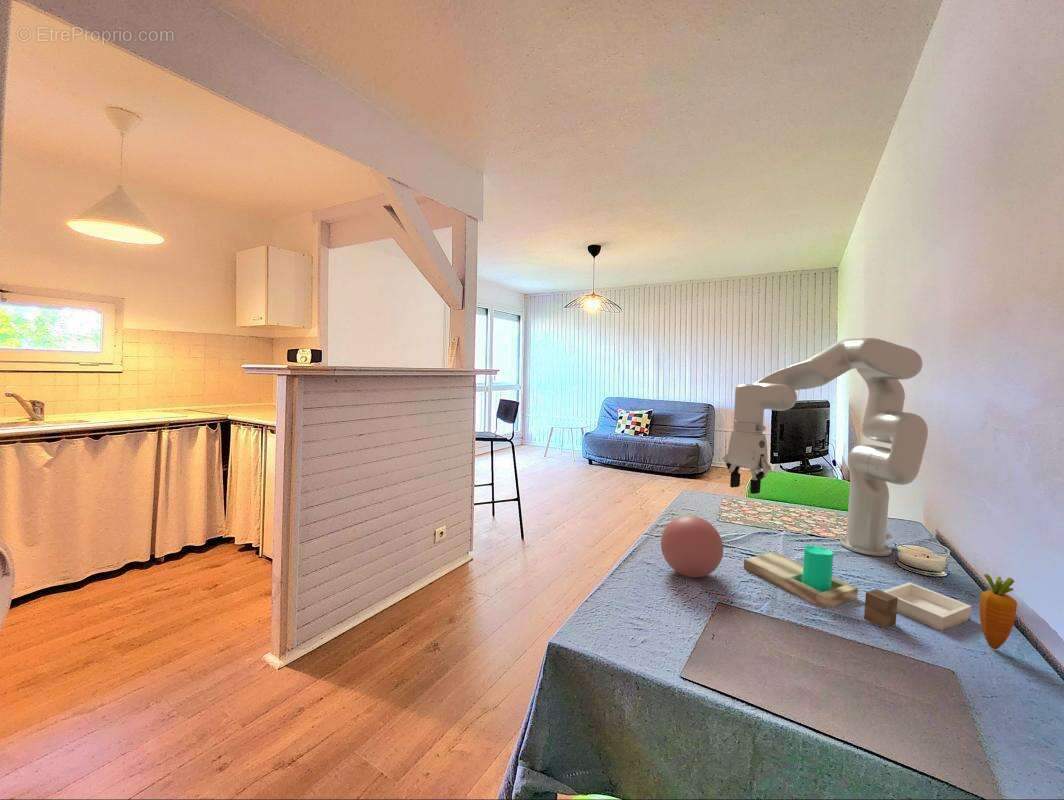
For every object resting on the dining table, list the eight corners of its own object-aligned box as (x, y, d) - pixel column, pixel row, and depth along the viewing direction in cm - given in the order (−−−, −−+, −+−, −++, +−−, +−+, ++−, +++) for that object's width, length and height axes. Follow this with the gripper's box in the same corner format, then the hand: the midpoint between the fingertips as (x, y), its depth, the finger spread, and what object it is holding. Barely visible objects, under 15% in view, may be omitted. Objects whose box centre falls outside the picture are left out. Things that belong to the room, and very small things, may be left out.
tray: (908, 594, 109) (909, 582, 108) (970, 619, 98) (971, 606, 98) (880, 603, 104) (881, 591, 104) (941, 631, 93) (943, 617, 93)
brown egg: (740, 571, 120) (743, 515, 119) (702, 595, 107) (705, 532, 106) (688, 552, 131) (690, 501, 130) (648, 572, 118) (650, 515, 117)
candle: (835, 599, 106) (838, 549, 105) (807, 596, 107) (810, 547, 106) (824, 586, 112) (827, 540, 111) (797, 584, 113) (800, 538, 112)
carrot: (968, 641, 90) (975, 569, 89) (991, 640, 90) (998, 569, 89) (996, 658, 85) (1003, 582, 84) (1019, 656, 85) (1027, 581, 84)
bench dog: (874, 614, 99) (876, 588, 99) (895, 624, 96) (897, 597, 95) (863, 618, 98) (865, 592, 97) (884, 628, 94) (886, 601, 94)
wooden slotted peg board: (774, 560, 126) (774, 552, 126) (857, 598, 106) (858, 588, 106) (743, 567, 122) (744, 559, 121) (824, 608, 102) (825, 598, 101)
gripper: (785, 431, 120) (781, 496, 122) (732, 423, 136) (729, 481, 137) (765, 432, 117) (761, 500, 119) (714, 424, 133) (711, 483, 134)
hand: (744, 489), depth 128 cm, fingers open, 6 cm apart
